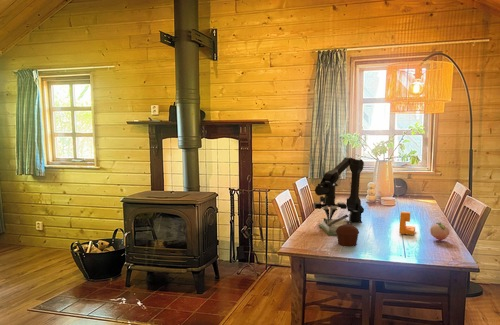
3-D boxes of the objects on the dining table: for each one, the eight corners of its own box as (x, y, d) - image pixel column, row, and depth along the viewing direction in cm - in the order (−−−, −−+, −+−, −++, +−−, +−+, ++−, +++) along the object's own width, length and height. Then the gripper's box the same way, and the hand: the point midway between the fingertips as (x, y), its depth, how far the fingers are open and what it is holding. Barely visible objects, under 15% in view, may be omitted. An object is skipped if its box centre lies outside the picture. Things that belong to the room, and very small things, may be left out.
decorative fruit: (426, 238, 199) (427, 220, 198) (441, 238, 200) (441, 219, 199) (436, 243, 190) (437, 224, 189) (451, 243, 191) (452, 224, 190)
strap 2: (328, 226, 211) (327, 224, 211) (327, 225, 214) (326, 223, 214) (348, 216, 212) (347, 214, 212) (347, 215, 214) (346, 213, 214)
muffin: (355, 240, 197) (355, 222, 196) (362, 247, 186) (362, 227, 185) (332, 241, 196) (333, 222, 196) (338, 247, 185) (338, 228, 184)
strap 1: (346, 220, 224) (346, 218, 224) (347, 221, 221) (347, 219, 221) (325, 220, 223) (325, 218, 223) (326, 221, 220) (326, 219, 220)
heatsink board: (344, 224, 230) (344, 215, 229) (357, 235, 207) (357, 225, 207) (319, 225, 229) (319, 216, 228) (329, 235, 206) (329, 225, 206)
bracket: (413, 236, 204) (414, 214, 203) (399, 234, 207) (399, 213, 206) (415, 231, 213) (415, 210, 212) (401, 229, 217) (402, 209, 216)
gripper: (341, 191, 229) (340, 216, 230) (311, 191, 228) (310, 216, 229) (347, 195, 218) (346, 221, 219) (315, 194, 217) (314, 221, 218)
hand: (329, 220), depth 222 cm, fingers closed, pressing on strap 1
